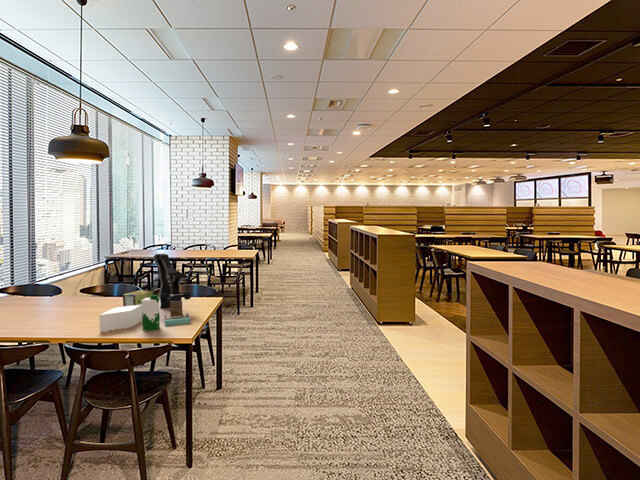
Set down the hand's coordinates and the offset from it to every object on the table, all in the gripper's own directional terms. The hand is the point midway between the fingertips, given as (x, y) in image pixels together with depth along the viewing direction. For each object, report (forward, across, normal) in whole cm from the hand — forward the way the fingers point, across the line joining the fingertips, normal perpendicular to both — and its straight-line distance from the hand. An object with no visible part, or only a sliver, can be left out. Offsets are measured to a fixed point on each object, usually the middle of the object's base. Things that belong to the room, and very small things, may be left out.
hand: (176, 307), depth 255 cm
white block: (+10, +31, 0) cm, 32 cm away
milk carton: (+20, +15, +10) cm, 26 cm away
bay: (+11, 0, +2) cm, 12 cm away
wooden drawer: (+10, 0, 0) cm, 10 cm away
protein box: (-4, +23, -14) cm, 27 cm away
